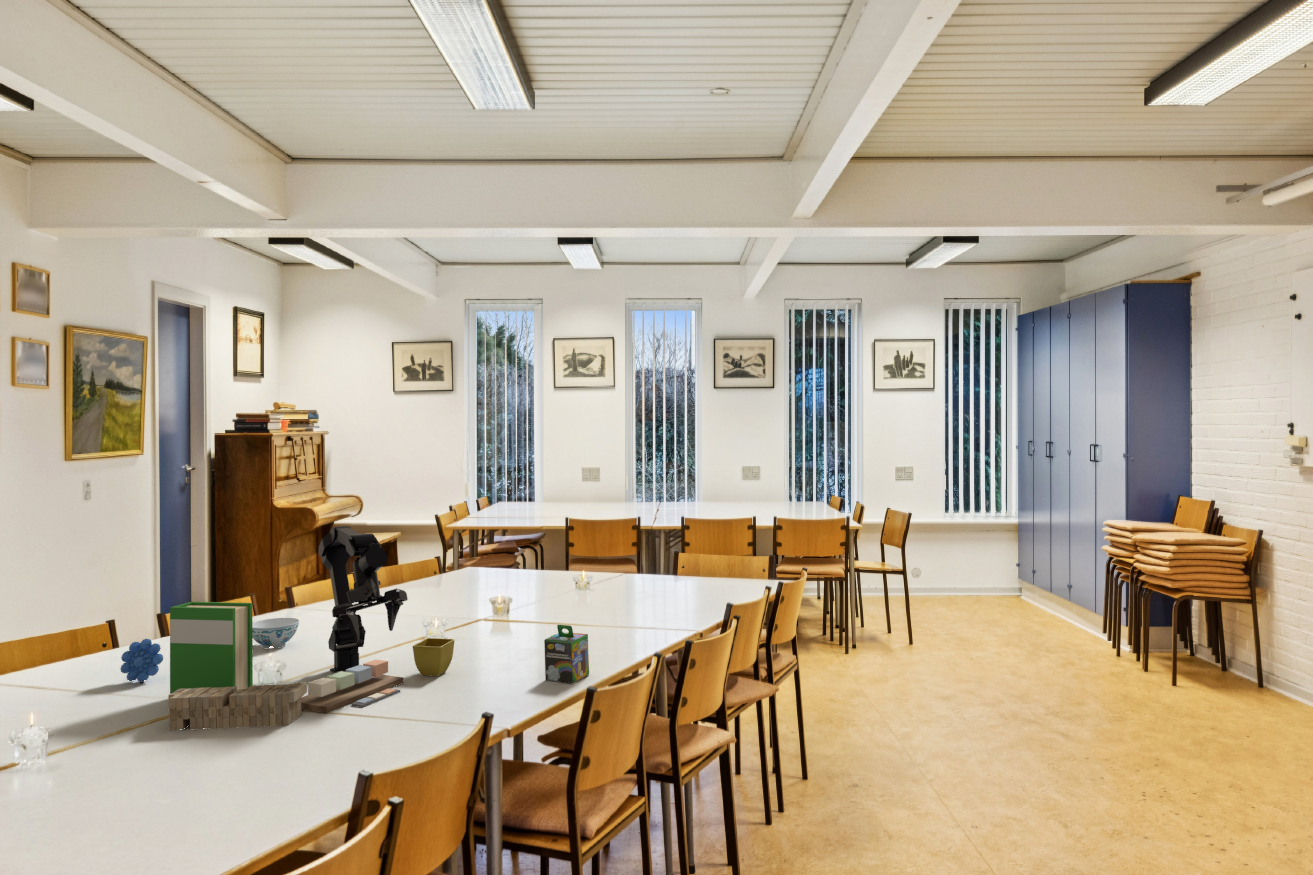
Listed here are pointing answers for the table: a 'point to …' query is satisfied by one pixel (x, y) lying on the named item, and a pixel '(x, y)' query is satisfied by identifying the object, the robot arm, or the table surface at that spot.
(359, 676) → the key slate
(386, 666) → the key terracotta
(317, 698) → the brown wooden board
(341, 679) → the key sage
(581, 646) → the chalk box
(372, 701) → the strip
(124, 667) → the blue flower ornament
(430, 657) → the flower pot
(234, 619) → the hardback book
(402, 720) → the table surface
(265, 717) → the block tower
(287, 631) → the chinaware
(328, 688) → the key cream
